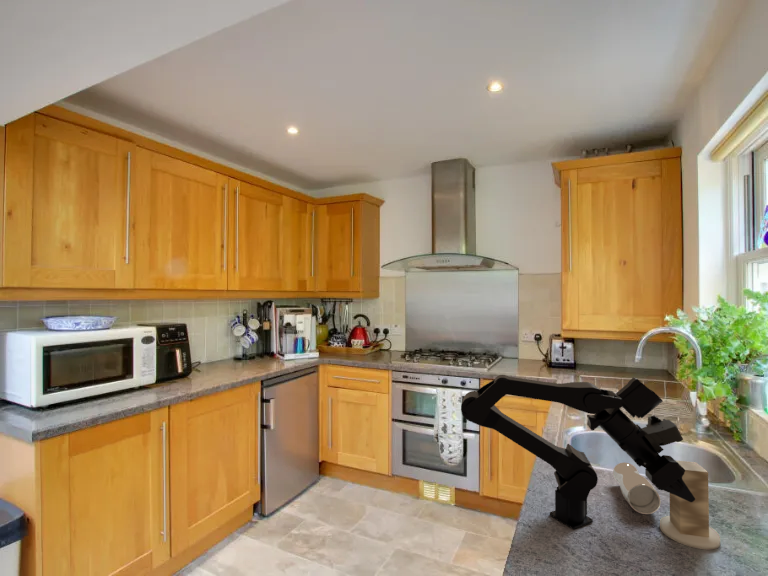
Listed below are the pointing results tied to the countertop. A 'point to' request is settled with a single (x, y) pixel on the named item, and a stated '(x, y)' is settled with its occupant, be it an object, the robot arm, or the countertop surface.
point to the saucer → (690, 536)
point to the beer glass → (636, 489)
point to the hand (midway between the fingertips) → (682, 489)
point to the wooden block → (692, 514)
